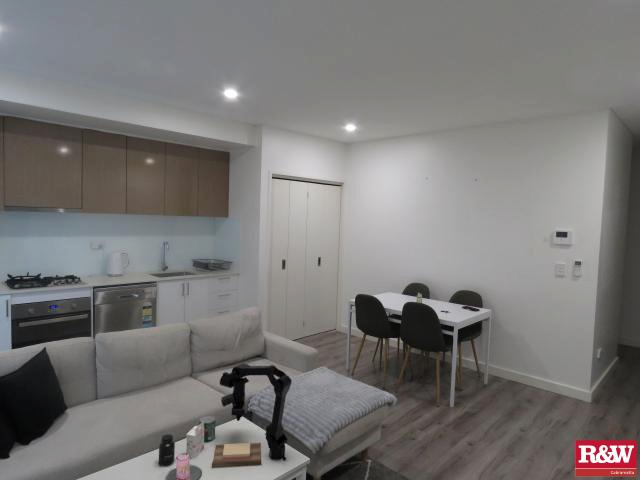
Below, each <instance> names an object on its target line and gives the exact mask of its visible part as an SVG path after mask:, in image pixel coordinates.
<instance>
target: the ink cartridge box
mask: <svg viewBox="0 0 640 480" xmlns="http://www.w3.org/2000/svg"><path fill="white" fill-rule="evenodd" d="M204 449H205V442H204V421H203V422H202V423H201V424H200V425H195V426H193V427H192V428H191V429H190V430H189V432H187V433H186V454H189V455H190V458H191V459H193V458H194V459H196V458H197V457H198V456H199V454H200V453H202V451H203V450H204Z"/></svg>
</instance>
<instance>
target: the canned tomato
mask: <svg viewBox="0 0 640 480" xmlns="http://www.w3.org/2000/svg"><path fill="white" fill-rule="evenodd" d="M203 421H204V443H210V442H213V441H214V440H215V439H216V417H215V416H214V415H203V416H201V417H200V418H199V421H198V423H199V425H200V424H201V423H202V422H203ZM199 425H198V426H199Z"/></svg>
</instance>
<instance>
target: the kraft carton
mask: <svg viewBox="0 0 640 480" xmlns="http://www.w3.org/2000/svg"><path fill="white" fill-rule="evenodd" d="M250 443H251V442H241V443H224V451H223V462H224V461H241V460H250Z"/></svg>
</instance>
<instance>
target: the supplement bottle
mask: <svg viewBox="0 0 640 480" xmlns="http://www.w3.org/2000/svg"><path fill="white" fill-rule="evenodd" d="M173 437H174V436H173V435H172V434H164V435H162V437H161V441H160V443H159V445H158V464H159V466H160V467H168V466H171V465H173V463H174V462H175V453H176V452H175V450H176V443H175V441H174V438H173Z"/></svg>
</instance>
